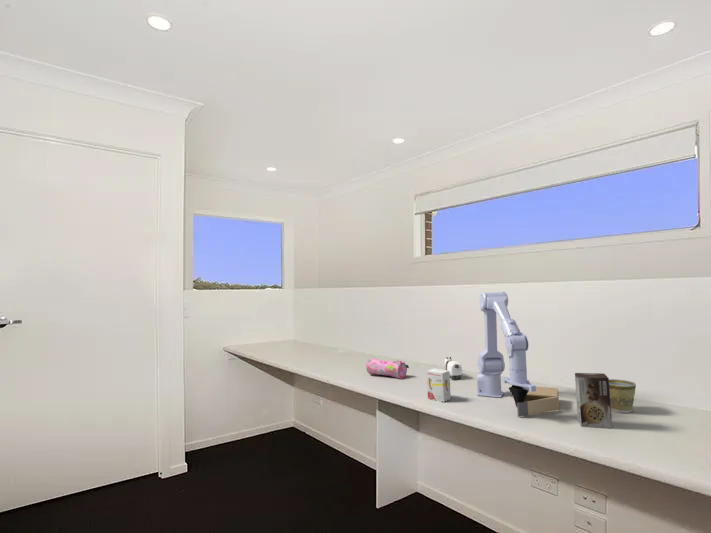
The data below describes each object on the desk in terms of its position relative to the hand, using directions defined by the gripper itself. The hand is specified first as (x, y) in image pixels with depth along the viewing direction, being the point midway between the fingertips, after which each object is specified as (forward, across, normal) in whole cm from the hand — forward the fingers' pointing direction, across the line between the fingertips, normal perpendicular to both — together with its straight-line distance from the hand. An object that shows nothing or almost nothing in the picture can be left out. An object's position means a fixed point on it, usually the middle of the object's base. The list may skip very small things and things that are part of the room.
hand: (519, 407), depth 148 cm
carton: (+3, +8, -16) cm, 18 cm away
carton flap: (+2, -1, -7) cm, 8 cm away
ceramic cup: (+3, -10, -36) cm, 38 cm away
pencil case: (+3, +78, +17) cm, 80 cm away
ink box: (+3, +30, +15) cm, 34 cm away
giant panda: (+3, +60, -10) cm, 61 cm away
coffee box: (+3, -17, -15) cm, 23 cm away
